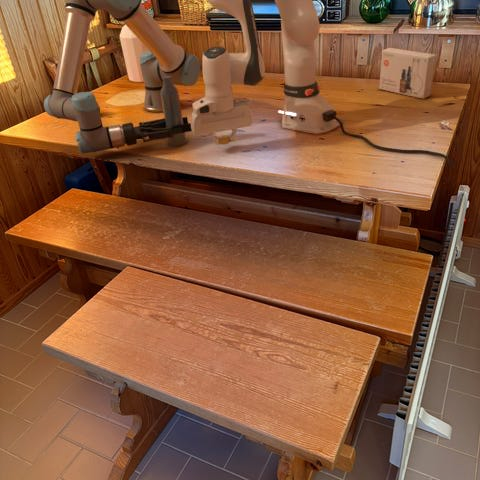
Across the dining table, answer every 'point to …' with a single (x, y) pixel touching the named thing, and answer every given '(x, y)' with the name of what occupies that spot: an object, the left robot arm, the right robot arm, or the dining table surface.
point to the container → (132, 53)
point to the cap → (224, 139)
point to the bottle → (172, 110)
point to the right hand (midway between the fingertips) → (224, 142)
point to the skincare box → (407, 72)
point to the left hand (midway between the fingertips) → (189, 123)
